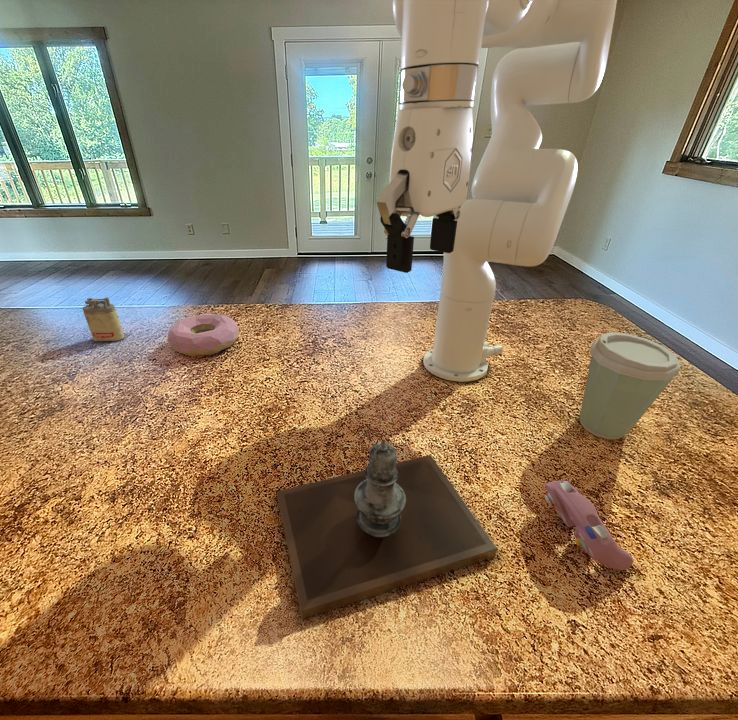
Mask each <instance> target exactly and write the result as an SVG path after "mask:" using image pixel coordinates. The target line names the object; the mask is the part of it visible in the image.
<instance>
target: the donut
mask: <svg viewBox="0 0 738 720" xmlns="http://www.w3.org/2000/svg"><path fill="white" fill-rule="evenodd" d="M238 338H239V327H238V325H237V323H236V321H235V320H234V319H233V318H231V317H229V315H223V314H215V313H208V312H207V313H203V314H202V313H201V314H196V315H192V316H188V317H185V318H182V319H181V320H179V321H178V322H176V323H175V324H173V325H172V327H171V328H170V329H169V330H168V331H167V342H168V343H169V346H170V347H171V348H172V350H174V351H175V352H177V353H179V354H182V355H186V356H190V357H196V356H197V357H199V356H213V355H215V354H217V353H219V352H221V351H224V350H226V349H227V348H230V347H231V346H232V345H233V344H234V343H235V342H236V341H237V340H238Z"/></svg>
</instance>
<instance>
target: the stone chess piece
mask: <svg viewBox="0 0 738 720" xmlns="http://www.w3.org/2000/svg"><path fill="white" fill-rule="evenodd" d="M368 453H369V454H368V465H367V466H365V469H364V470H365V475H366V478H367V479H366V480H364V481H363V482H361V483H360V484H359V485H358V486H357V488H356V490H355V495H354V499H355V503H356V505H357V507H358V510H357V517H356V518H357V522H358V524H359V526H360V528H361V529H362V530H363V531H364V532H366V533H367V534H369V535H372V536H375V537H386V536H389V535H391V534H393V533H394V532H396V531H397V530H398V528H399V526H400V523H401V515H400V513H401V512H402V510H403V509H404V507H405V503H406V496H405V493H404V491H403V489H402V488H401V487H400V486H399V485H398V484H397V483H396V480H397V479H398V471H397V469H396V463H397V457H398V456H397V455H398V454H397V451H396V448H394V447H393V446H392V445H391V444H389V443H387V442H386V441H385V440H382V441H380V442H378V443H376V444H374V445H373V446H372V447H371V448H370V450H369V452H368Z"/></svg>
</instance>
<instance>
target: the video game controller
mask: <svg viewBox="0 0 738 720" xmlns="http://www.w3.org/2000/svg"><path fill="white" fill-rule="evenodd" d="M544 487H545V490H546V492H547V494H544V499H545V501H546V503H547V504H548V505H550V506H552V504H553V505H554V506H555V508H556V510H557V512H558V514H559V516H560V518H561V520H562V522H563V523H564V524H565V526H566V527H567V528H572V527H574V531H573V536H574V537H575V539H574V542H575V544H576V546H578V547H580V548H581V549H582V551H584V553H585V554H586V553H587V554H588V555H589V556H590V557H591V558H592V559H593V561H597V562H599V564H601V565H603V566H604V567H607V568H610V569H613V570H615V571H625V570H627V569H629V568H630V567H631V566H632V565H633V563H634V558H633V556H632V555H631V554H630V553H629V552H628V551H627V550H625V549H623V548H622V547H621V546H619V545H618V543H617V542H616V541H615V539H614V538H613V536H612V534H611V532H610V531H609V529H608V528H607V527H606V525H605V524H604V522H603V520H601V517H600V516H599V513H598V511H597V509H596V507H595V505H594V504H593V502H591V501H590V499H588V498H587V497H585V496H584V495H583V493H582V492H581V490H579V489H578V488H576V487H575V486H574V485H573V484H571V483H570V482H569V481H567V480H554V481H550V482H547V483H545V484H544Z"/></svg>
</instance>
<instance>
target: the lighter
mask: <svg viewBox="0 0 738 720" xmlns="http://www.w3.org/2000/svg"><path fill="white" fill-rule="evenodd" d="M84 304H85V306H84V305H83V307H82V311H83V316H84V318H85V320H86V324H87V327H88V329H89V331H90V334H91V336H92V340H93V341H94V342H117V341H120V340H123V339H125V337H126V335H125V333H124V330H123V326H122V324H121V321H120V318H119V314H118V311H117V309H116V307H115V305H114V304H112V303H110V298H109V297H104V298H93V297H90V298H86V300H85V301H84Z"/></svg>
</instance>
